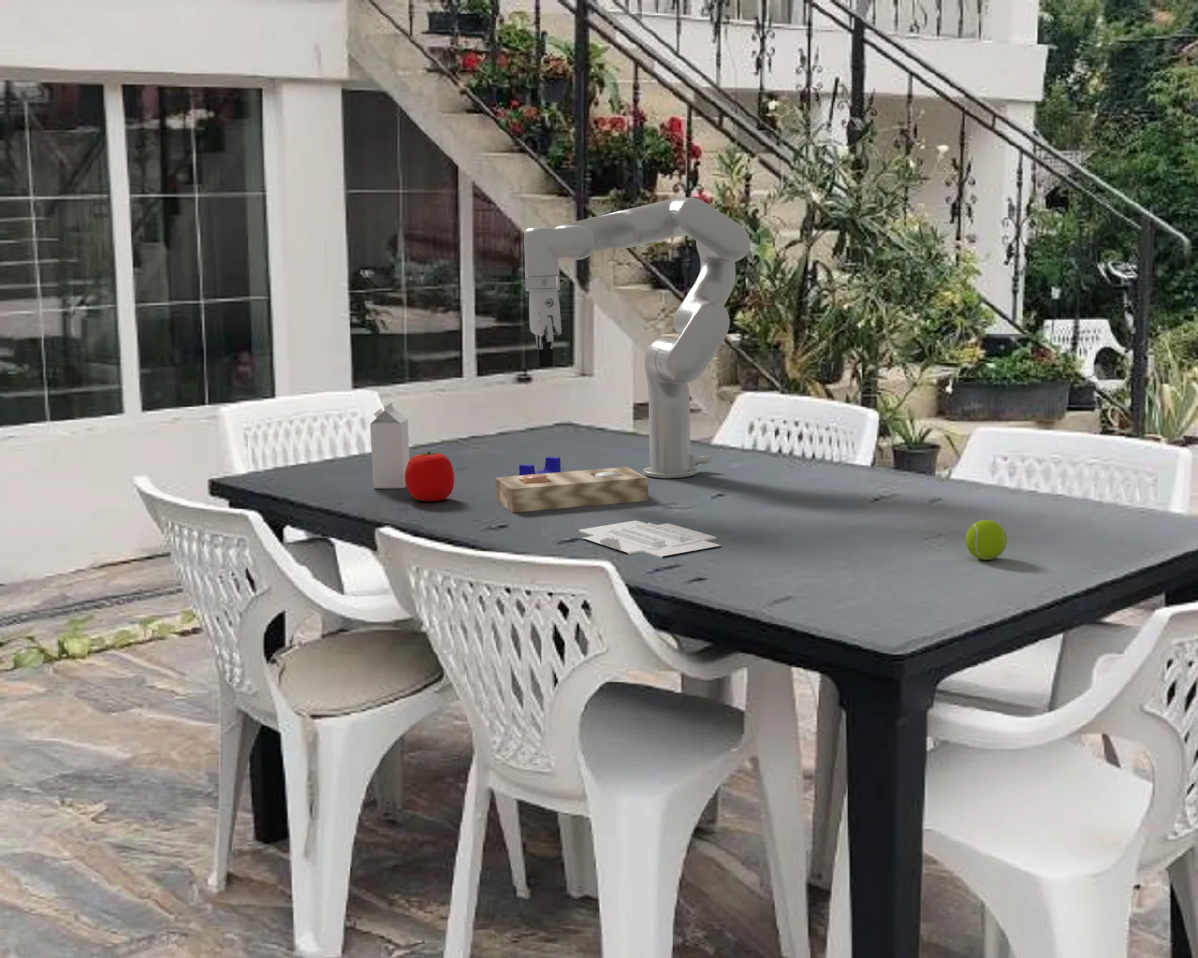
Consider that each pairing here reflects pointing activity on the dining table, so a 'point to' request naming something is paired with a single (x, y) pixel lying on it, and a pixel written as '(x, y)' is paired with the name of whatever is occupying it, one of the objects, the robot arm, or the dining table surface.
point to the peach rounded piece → (534, 478)
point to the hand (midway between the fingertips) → (545, 366)
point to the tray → (649, 538)
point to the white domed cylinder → (606, 474)
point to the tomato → (429, 477)
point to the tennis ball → (986, 539)
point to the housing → (572, 490)
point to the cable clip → (550, 467)
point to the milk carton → (389, 448)
